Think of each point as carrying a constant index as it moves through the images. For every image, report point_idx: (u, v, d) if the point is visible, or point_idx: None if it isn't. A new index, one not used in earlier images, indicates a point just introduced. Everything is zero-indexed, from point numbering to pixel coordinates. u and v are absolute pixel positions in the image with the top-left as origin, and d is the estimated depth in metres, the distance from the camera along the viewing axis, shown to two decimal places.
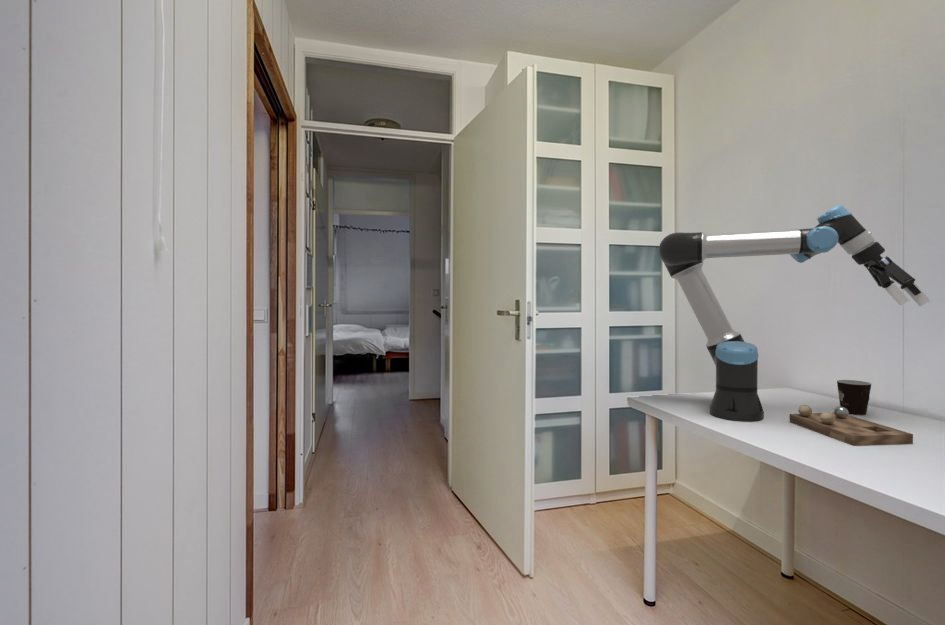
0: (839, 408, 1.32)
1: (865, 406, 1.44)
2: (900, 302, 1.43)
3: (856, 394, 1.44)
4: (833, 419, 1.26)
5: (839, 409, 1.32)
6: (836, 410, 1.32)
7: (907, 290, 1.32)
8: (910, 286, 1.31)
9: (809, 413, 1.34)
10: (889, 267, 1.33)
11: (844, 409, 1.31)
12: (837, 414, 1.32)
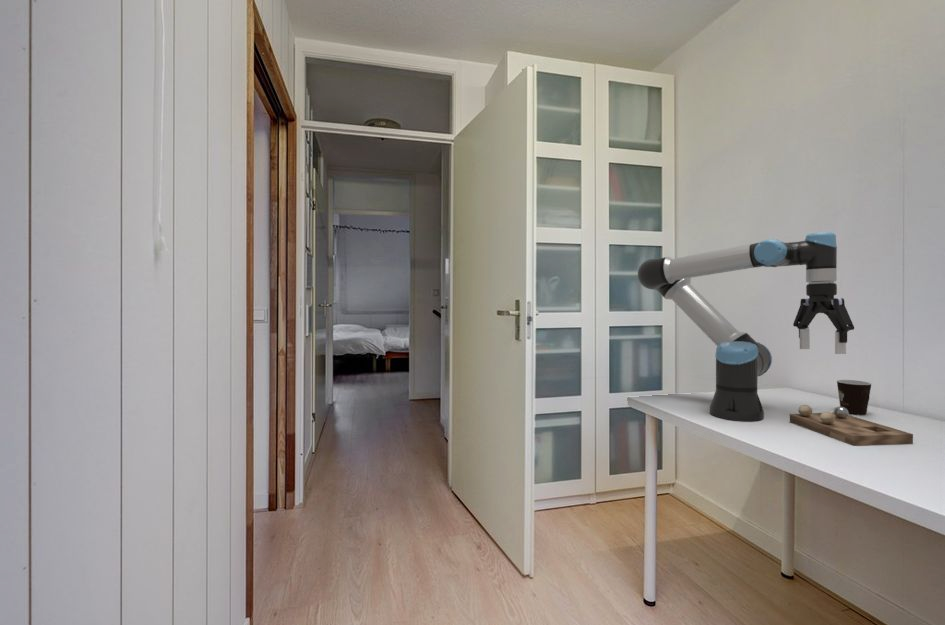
0: (839, 408, 1.32)
1: (865, 406, 1.44)
2: (802, 346, 1.47)
3: (856, 394, 1.44)
4: (833, 419, 1.26)
5: (839, 409, 1.32)
6: (836, 410, 1.32)
7: (837, 335, 1.33)
8: (844, 333, 1.32)
9: (809, 413, 1.34)
10: (840, 308, 1.33)
11: (844, 409, 1.31)
12: (837, 414, 1.32)
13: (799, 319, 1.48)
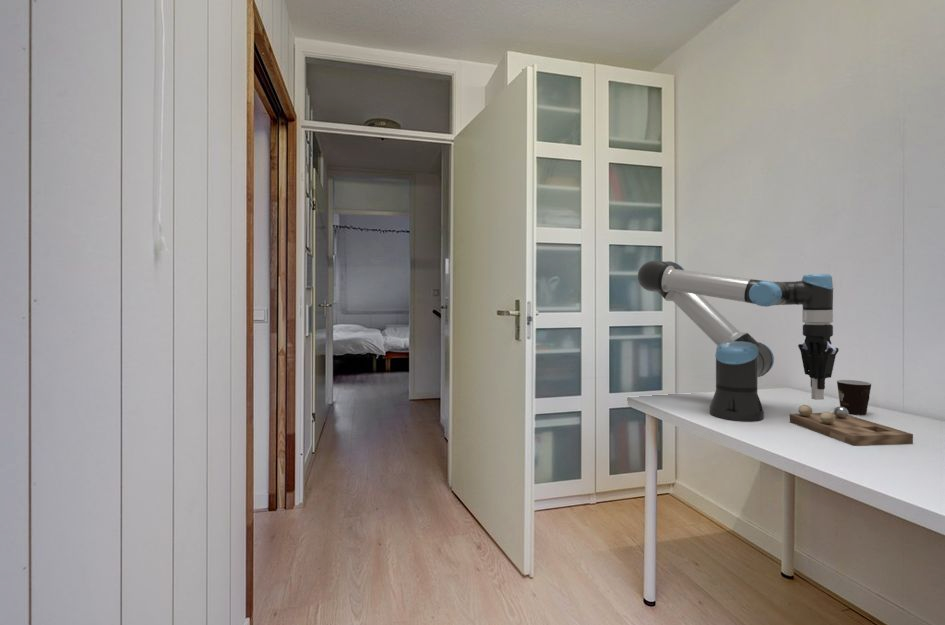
0: (839, 408, 1.32)
1: (865, 406, 1.44)
2: None
3: (856, 394, 1.44)
4: (833, 419, 1.26)
5: (839, 409, 1.32)
6: (836, 410, 1.32)
7: (816, 382, 1.40)
8: (822, 380, 1.39)
9: (809, 413, 1.34)
10: (829, 357, 1.36)
11: (844, 409, 1.31)
12: (837, 414, 1.32)
13: (807, 365, 1.44)
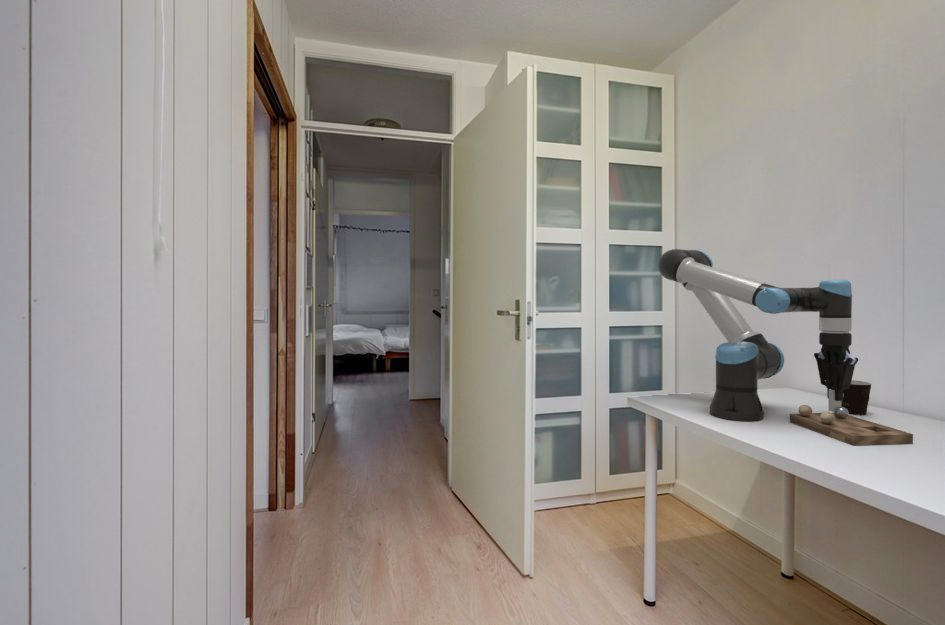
0: (839, 408, 1.32)
1: (865, 406, 1.44)
2: None
3: (856, 394, 1.44)
4: (833, 419, 1.26)
5: (839, 409, 1.32)
6: (836, 410, 1.32)
7: (833, 393, 1.34)
8: (839, 391, 1.33)
9: (809, 413, 1.34)
10: (848, 368, 1.30)
11: (844, 409, 1.31)
12: (837, 414, 1.32)
13: (824, 375, 1.38)
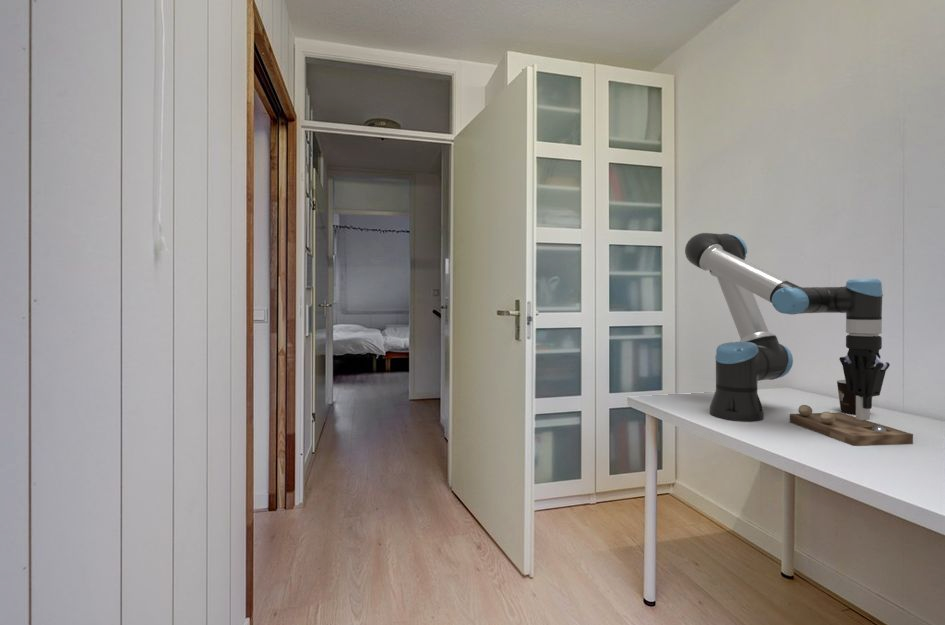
0: None
1: None
2: None
3: None
4: (833, 419, 1.26)
5: None
6: None
7: (861, 400, 1.25)
8: (868, 398, 1.24)
9: (809, 413, 1.34)
10: (879, 373, 1.20)
11: None
12: None
13: (850, 380, 1.29)
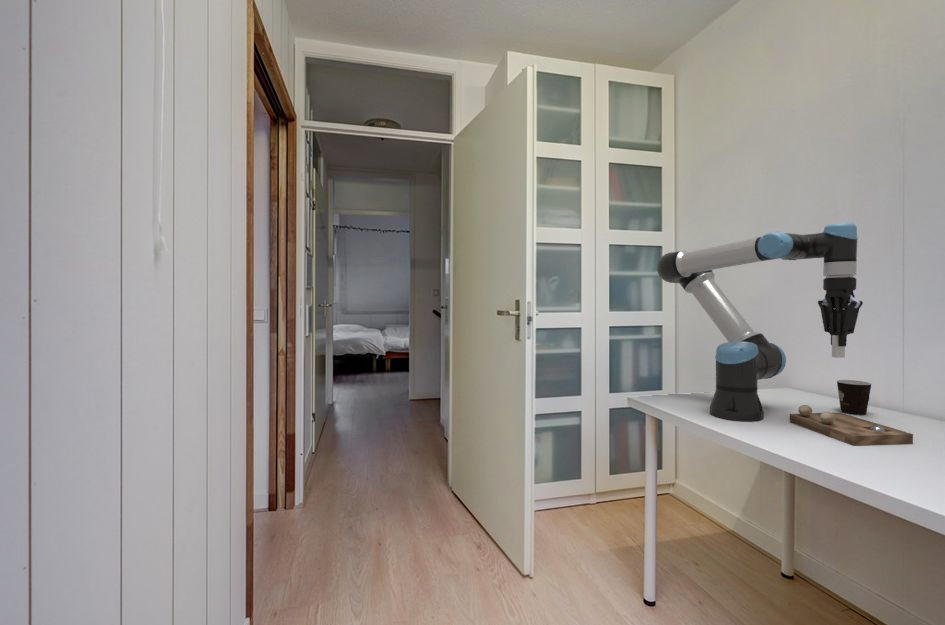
0: None
1: (865, 406, 1.44)
2: None
3: (856, 394, 1.44)
4: (833, 419, 1.26)
5: None
6: None
7: (837, 338, 1.32)
8: (843, 336, 1.31)
9: (809, 413, 1.34)
10: (852, 311, 1.28)
11: None
12: None
13: (827, 322, 1.36)
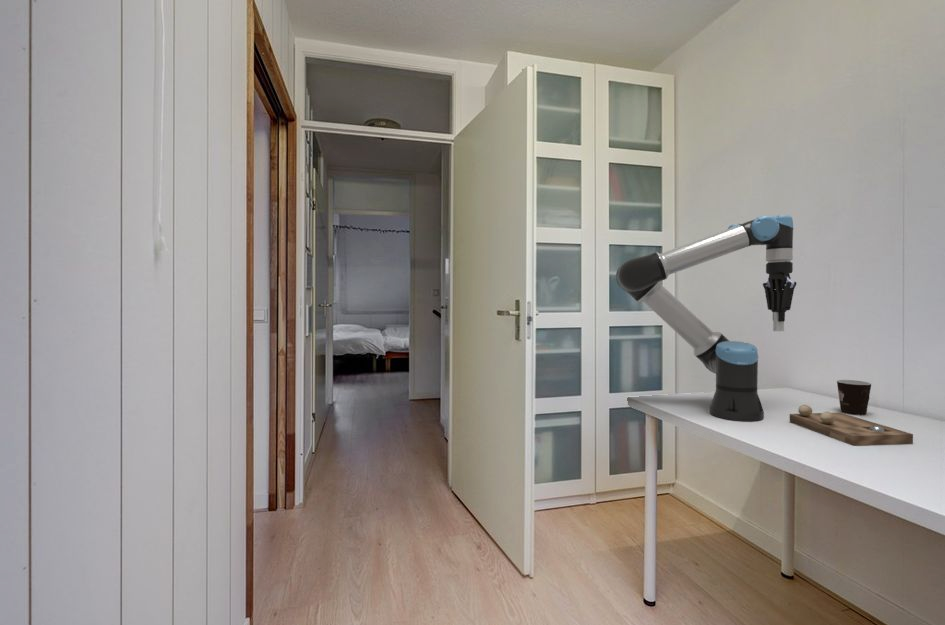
0: (878, 431, 1.20)
1: (865, 406, 1.44)
2: None
3: (856, 394, 1.44)
4: (833, 419, 1.26)
5: None
6: None
7: (777, 315, 1.54)
8: (782, 313, 1.52)
9: (809, 413, 1.34)
10: (788, 291, 1.49)
11: None
12: None
13: (770, 301, 1.57)
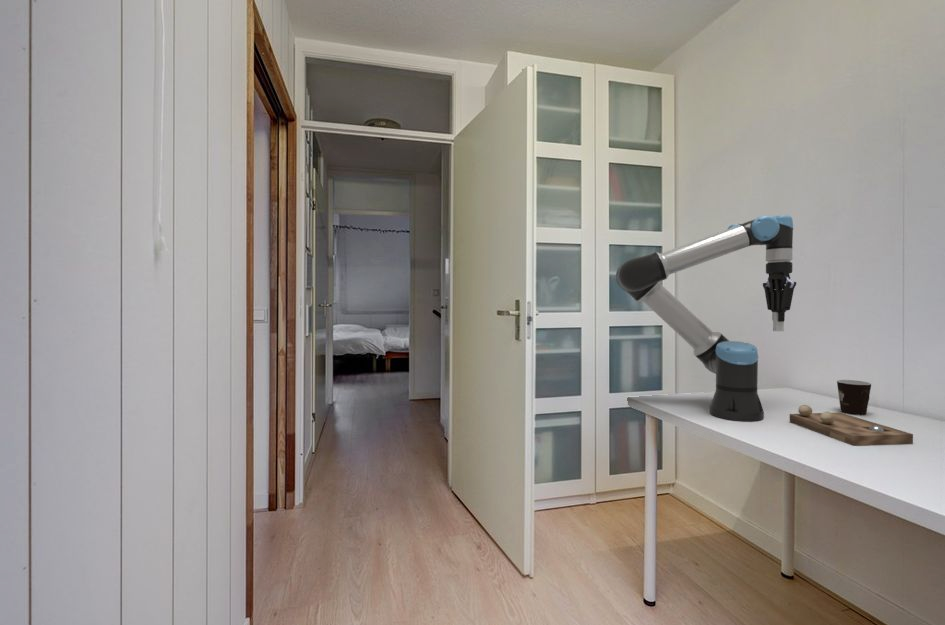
0: (877, 431, 1.21)
1: (865, 406, 1.44)
2: None
3: (856, 394, 1.44)
4: (833, 419, 1.26)
5: None
6: None
7: (776, 315, 1.54)
8: (782, 313, 1.53)
9: (809, 413, 1.34)
10: (788, 291, 1.49)
11: None
12: None
13: (770, 301, 1.57)
